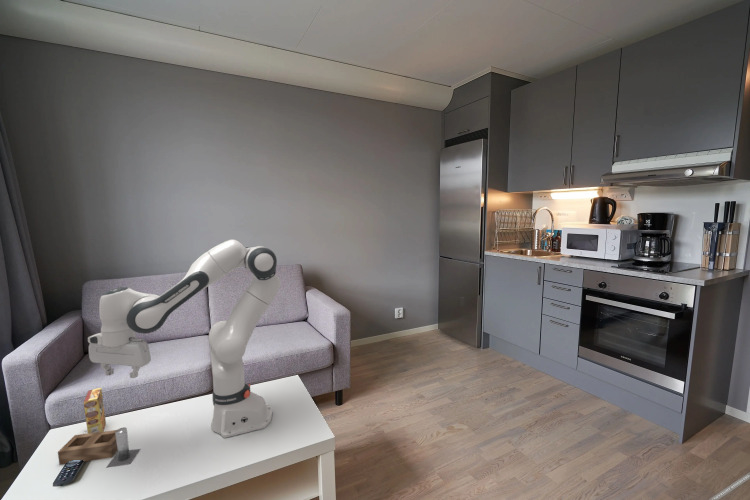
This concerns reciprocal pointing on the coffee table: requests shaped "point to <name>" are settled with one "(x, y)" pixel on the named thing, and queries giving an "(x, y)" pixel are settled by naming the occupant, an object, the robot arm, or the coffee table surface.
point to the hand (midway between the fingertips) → (121, 375)
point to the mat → (128, 461)
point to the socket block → (89, 447)
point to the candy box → (94, 411)
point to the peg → (122, 444)
